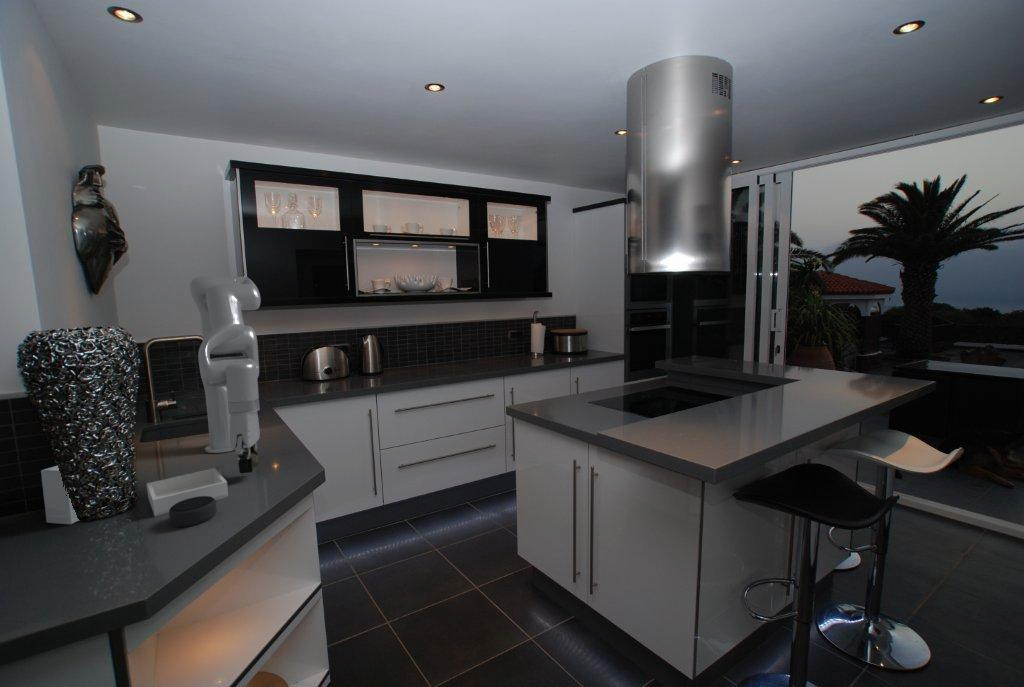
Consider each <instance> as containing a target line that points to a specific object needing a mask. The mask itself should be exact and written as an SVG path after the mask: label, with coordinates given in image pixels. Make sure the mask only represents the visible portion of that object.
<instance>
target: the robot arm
mask: <svg viewBox="0 0 1024 687" xmlns="http://www.w3.org/2000/svg"><path fill="white" fill-rule="evenodd" d="M189 290H190V294H191V297H192V300H193V302H194V303H195V305H196V307H197V309H198V312H199V314H200V322H201V333H202V334H201V335H202V342H201V344H200V346H199V349H198V355H197V358H198V359H197V360H198V365H199V373H200V377H201V381H202V384H203V388H204V389H203V390H204V394H205V404H206V413H207V414H206V415H207V421H208V422H207V424H208V435H209V436H208V437H209V444H208V445H207V446H206V447H204V450H205V452H206V453H209V454H219V453H228V452H232V451H235V454H236V455H237V460H238V462H239V464H238V470H239V471H238V472H239V474H247V473H249V474H250V473H252V472H254V470H253V467H252V458H250V453H253V454H255V455H256V456H258V457H259V455H258V443H257V442H258V441H259V439H260V436H261V435H260V423H259V422H260V421H259V415H258V411H260V409H261V408H260V399H259V397H260V396H259V394H260V393H259V384H258V378H259V377H260V362H259V347H258V346H259V345H258V337H257V333H256V331H255V329H254V328H253V327H252V326H250V325H245V322H244V318H243V312H242V311H255V310H258V309H259V308H260V306H261V303H262V302H261V298H262V297H261V293H260V291H259V288H258V287H257V285H256V284H255V283H254V281H253V280H251V278H249V277H247V276H217V275H215V276H214V275H209V276H208V275H207V276H205V275H204V276H198V277H194V278H192V279H191V280H190V282H189ZM239 353H241V354H242V355H240V356H227V357H225V356H224V357H215V358H211V356H210V355H227V354H239Z"/></svg>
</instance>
